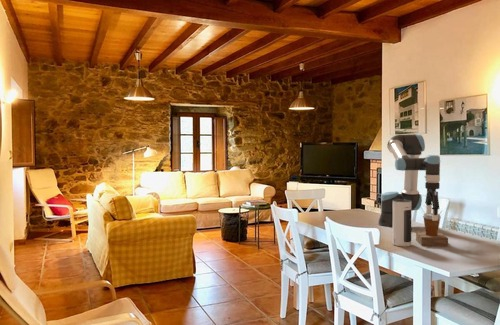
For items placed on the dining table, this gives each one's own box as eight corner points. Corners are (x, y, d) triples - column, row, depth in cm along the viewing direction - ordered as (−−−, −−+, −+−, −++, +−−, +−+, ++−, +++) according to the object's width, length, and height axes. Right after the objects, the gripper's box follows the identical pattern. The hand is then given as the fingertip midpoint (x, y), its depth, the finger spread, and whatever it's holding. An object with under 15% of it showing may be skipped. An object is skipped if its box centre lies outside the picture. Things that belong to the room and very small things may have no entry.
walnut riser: (416, 240, 247) (416, 232, 247) (440, 240, 245) (440, 232, 244) (421, 246, 233) (421, 237, 233) (448, 246, 231) (448, 238, 231)
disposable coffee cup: (424, 236, 235) (424, 215, 234) (421, 232, 244) (421, 212, 244) (442, 237, 233) (442, 216, 232) (438, 233, 242) (438, 213, 242)
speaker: (399, 247, 230) (399, 201, 229) (388, 243, 240) (388, 198, 239) (415, 246, 233) (415, 200, 232) (403, 241, 243) (404, 198, 242)
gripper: (420, 179, 250) (419, 214, 251) (431, 184, 225) (430, 222, 227) (433, 179, 249) (432, 214, 250) (445, 184, 224) (445, 222, 225)
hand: (431, 218), depth 238 cm, fingers open, 13 cm apart
